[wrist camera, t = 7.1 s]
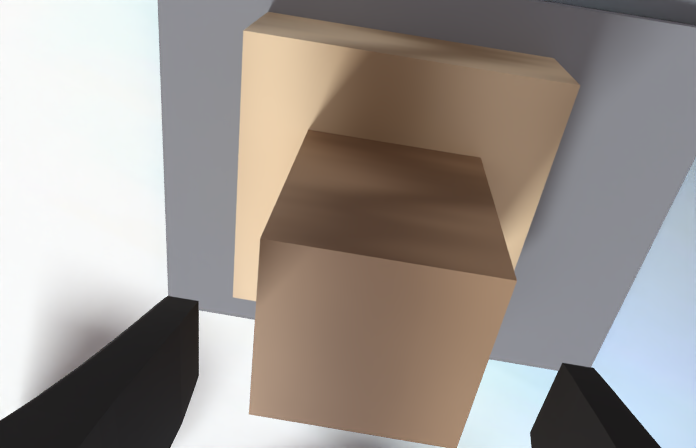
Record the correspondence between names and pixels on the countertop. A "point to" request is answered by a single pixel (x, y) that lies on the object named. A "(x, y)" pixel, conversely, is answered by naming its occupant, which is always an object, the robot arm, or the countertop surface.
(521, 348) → the slate mat
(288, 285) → the walnut block
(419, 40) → the oak base
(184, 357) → the robot arm
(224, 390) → the countertop surface
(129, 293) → the countertop surface
